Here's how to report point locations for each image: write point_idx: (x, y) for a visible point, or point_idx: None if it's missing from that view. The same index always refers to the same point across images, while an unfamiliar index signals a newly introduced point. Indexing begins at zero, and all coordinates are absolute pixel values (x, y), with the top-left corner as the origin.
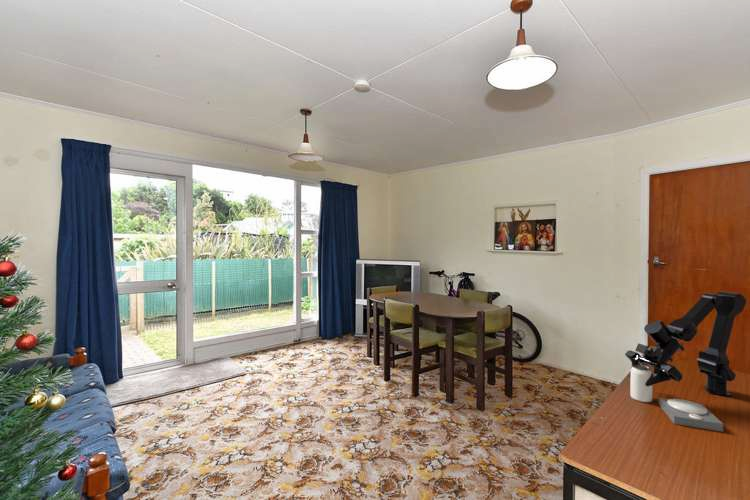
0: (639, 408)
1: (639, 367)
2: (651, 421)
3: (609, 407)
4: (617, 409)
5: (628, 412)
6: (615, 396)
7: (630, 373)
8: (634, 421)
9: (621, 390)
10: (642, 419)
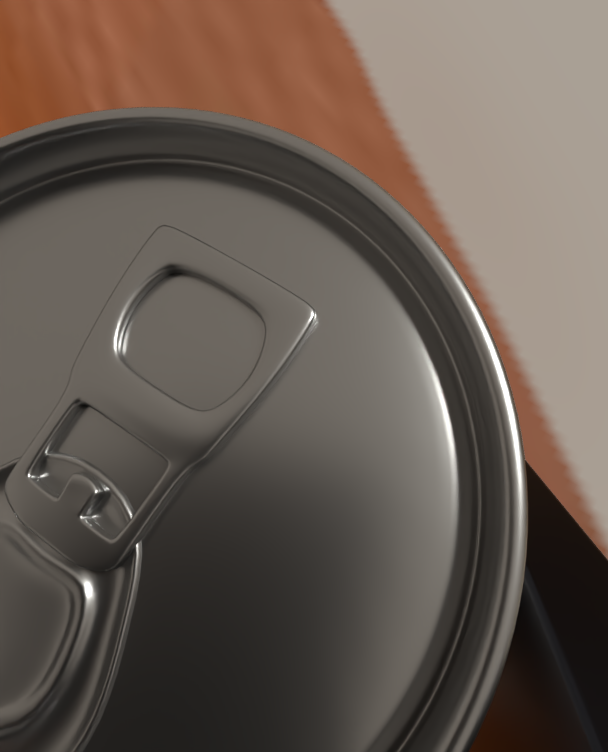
0: None
1: (175, 436)
2: (4, 119)
3: (307, 13)
4: (252, 45)
5: (175, 83)
6: (465, 271)
7: (530, 488)
8: (71, 4)
9: (583, 519)
10: (55, 84)
